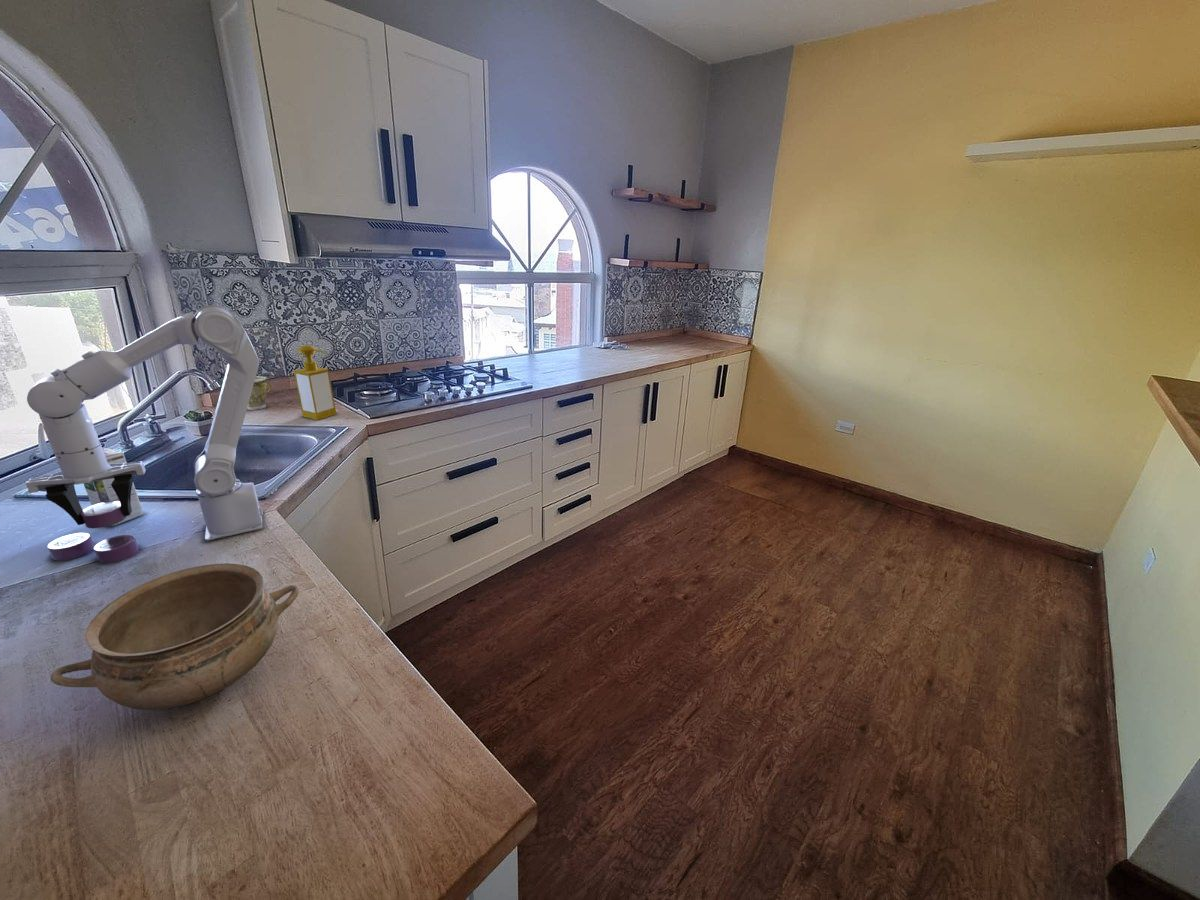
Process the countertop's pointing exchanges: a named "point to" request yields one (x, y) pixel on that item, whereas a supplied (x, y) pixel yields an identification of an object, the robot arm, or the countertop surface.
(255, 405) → the ceramic cup
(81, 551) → the dish top
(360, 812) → the countertop surface
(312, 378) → the soap bottle
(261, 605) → the cooking pot
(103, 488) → the syrup box
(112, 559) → the dish bottom
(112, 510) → the dish middle
